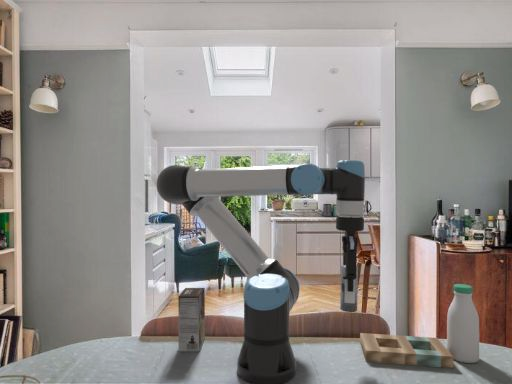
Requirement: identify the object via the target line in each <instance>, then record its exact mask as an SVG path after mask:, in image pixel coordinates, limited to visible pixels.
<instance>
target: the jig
mask: <svg viewBox="0 0 512 384" xmlns="http://www.w3.org/2000/svg"><path fill="white" fill-rule="evenodd" d="M359 343H360V346H361V350H362V353H363V356H364V359H365V362H368V363H380V364H381V363H383V364H393V365H394V364H395V365H404V366H405V365H406V366H418V367H419V366H421V367H431V368H433V367H434V368H445V369H454V359H453V356H452V355H451V353H450V352H449V351H448V350H447V347H446V346H445V345H444V344H443V343H442V342H441V340H440V339H439V338H438V337H431V336H430V337H428V336H427V337H426V336H414V335H413V336H412V335H411V336H410V335H398V334H386V333H385V334H382V333H381V334H380V333H366V332H365V333H364V332H360V333H359Z"/></svg>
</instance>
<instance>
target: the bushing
mask: <svg viewBox="0 0 512 384" xmlns="http://www.w3.org/2000/svg"><path fill="white" fill-rule="evenodd" d="M358 275H359V267H358V266H357V265H356V276H357V277H356V279H355V303H345V302H344V299H345V279H343V277H345V276H346V265H343V264H342V265H340V297H339V298H340V300H339V301H340V302H339V303H340V306H339V307H340V308H339V309H340V311H342V312H346V313H355V312H357V311H358V297H359V296H358V294H359V293H358V290H359V288H358V287H359V283H358V281H359V276H358Z"/></svg>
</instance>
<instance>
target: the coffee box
mask: <svg viewBox="0 0 512 384" xmlns="http://www.w3.org/2000/svg"><path fill="white" fill-rule="evenodd" d="M205 290H206V287H185V288H184V289H183V290H182V291H181V292H180V294H179V295H178V297H177V298H178V300H177V301H178V352H200V351H201V348H202V346H203V343H204V341H205V337H206V336H205V335H206V334H205V333H206V331H205V330H206V329H205V328H206V327H205V326H206V325H205V323H206V321H205V320H206V319H205V316H206V313H205V311H206V310H205V307H206V306H205V305H206V303H205V302H206V301H205V299H206V297H205V296H206V295H205V293H206V291H205Z"/></svg>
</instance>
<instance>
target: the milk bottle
mask: <svg viewBox="0 0 512 384" xmlns="http://www.w3.org/2000/svg"><path fill="white" fill-rule="evenodd" d="M473 289H474V288H473V286H471V285H469V284H464V283H463V284H462V283H456V284H453V294H454V296H453V299H452V301H451V303H450V305H449V307H448V310H447V314H446V315H447V318H446V321H447V322H446V349H447V350H448V351H449V352H450V353H451V355H452V356H453V361H454V360H455V361H457V362H460V363H464V364H475V363H477V362H479V361H480V318H479V314H478V313H479V312H478V310H477V308H476V306H475V304H474V301H473V298H472V297H473V296H472V295H473V291H474V290H473Z"/></svg>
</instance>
